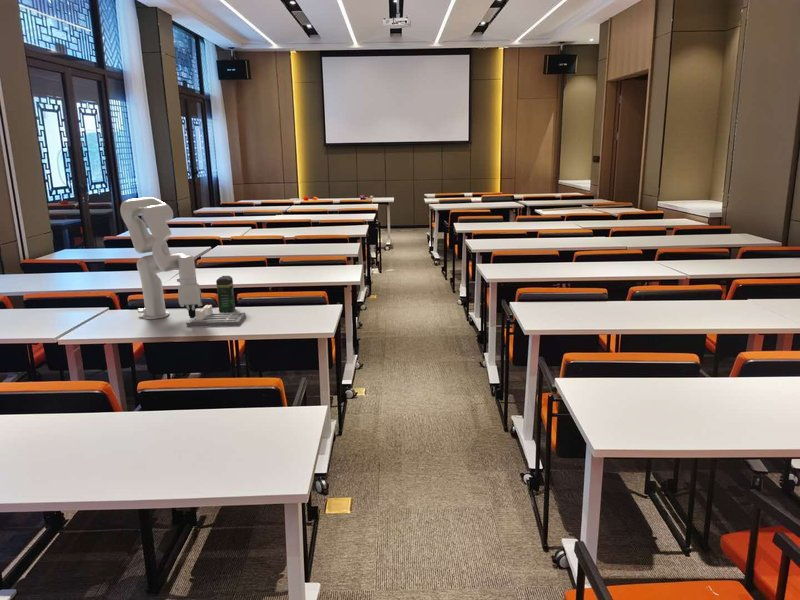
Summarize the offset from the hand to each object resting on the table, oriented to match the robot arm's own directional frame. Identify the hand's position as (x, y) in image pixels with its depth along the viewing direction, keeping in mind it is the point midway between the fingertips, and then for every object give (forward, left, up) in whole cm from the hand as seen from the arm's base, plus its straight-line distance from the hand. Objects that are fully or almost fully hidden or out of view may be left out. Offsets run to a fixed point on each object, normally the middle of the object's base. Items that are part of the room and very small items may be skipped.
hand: (192, 317), depth 286 cm
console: (+10, +4, -4) cm, 12 cm away
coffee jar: (+11, +22, -4) cm, 25 cm away
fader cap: (+4, 0, -1) cm, 4 cm away
